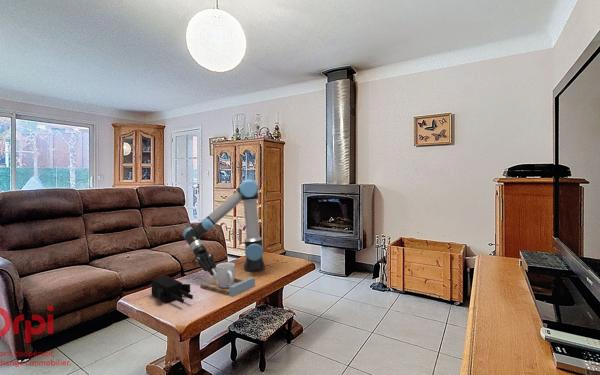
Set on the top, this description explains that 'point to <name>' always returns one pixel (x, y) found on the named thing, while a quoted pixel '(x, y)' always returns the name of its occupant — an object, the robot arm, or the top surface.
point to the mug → (225, 274)
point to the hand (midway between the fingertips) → (216, 278)
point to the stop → (241, 286)
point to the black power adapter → (170, 289)
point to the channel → (218, 288)
